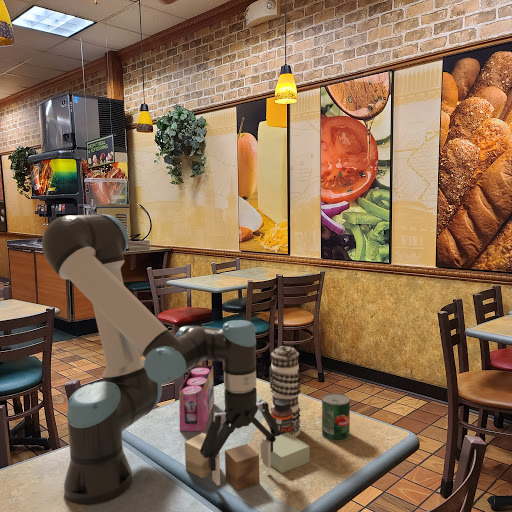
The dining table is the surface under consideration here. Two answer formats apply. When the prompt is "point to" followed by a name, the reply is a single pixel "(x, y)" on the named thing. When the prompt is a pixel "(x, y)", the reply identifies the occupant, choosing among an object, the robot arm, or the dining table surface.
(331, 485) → the dining table surface
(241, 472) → the walnut block
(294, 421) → the decorative candle
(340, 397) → the canned tomato
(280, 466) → the pedestal block
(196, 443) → the maple block
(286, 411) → the supplement bottle
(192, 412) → the gum box
